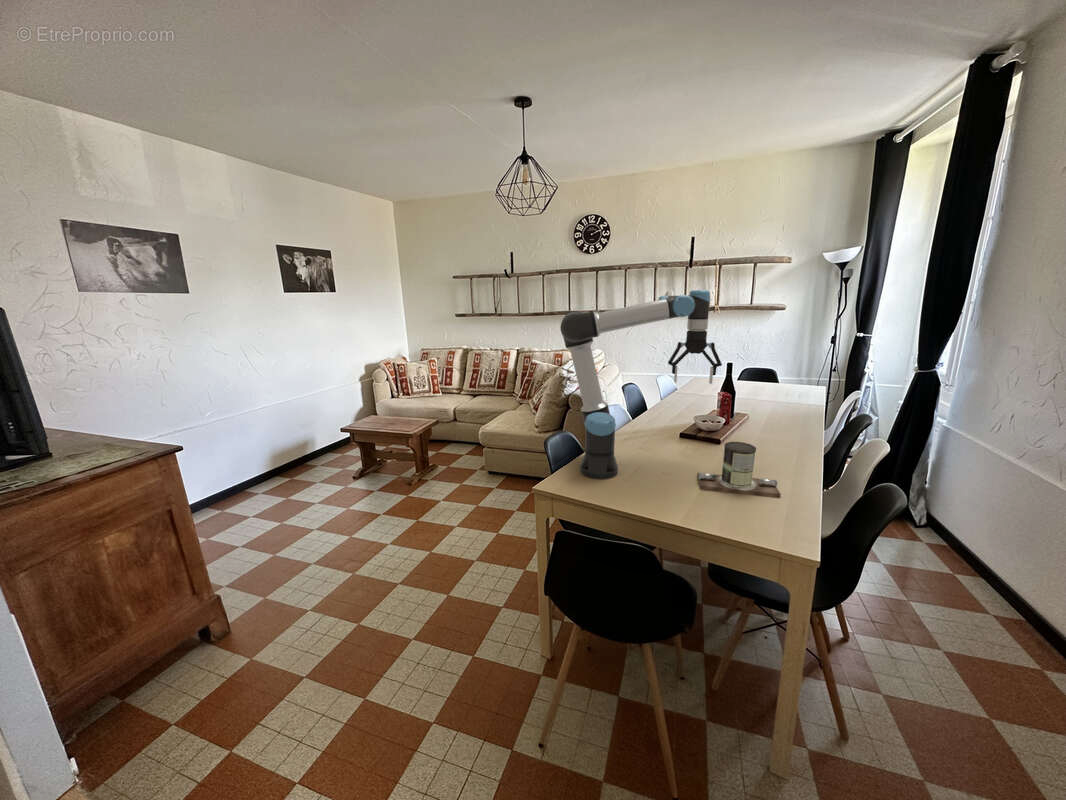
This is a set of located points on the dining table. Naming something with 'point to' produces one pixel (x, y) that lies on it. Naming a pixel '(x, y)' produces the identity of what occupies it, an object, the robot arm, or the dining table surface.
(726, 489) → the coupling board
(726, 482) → the coffee can
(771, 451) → the dining table surface
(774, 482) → the shaft stubs
